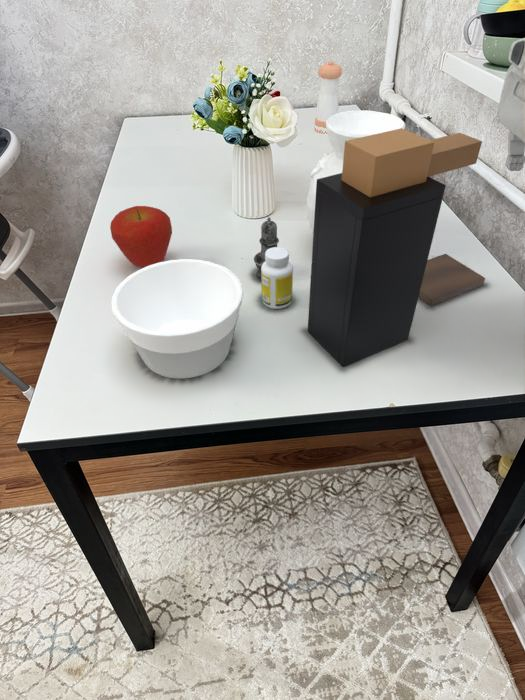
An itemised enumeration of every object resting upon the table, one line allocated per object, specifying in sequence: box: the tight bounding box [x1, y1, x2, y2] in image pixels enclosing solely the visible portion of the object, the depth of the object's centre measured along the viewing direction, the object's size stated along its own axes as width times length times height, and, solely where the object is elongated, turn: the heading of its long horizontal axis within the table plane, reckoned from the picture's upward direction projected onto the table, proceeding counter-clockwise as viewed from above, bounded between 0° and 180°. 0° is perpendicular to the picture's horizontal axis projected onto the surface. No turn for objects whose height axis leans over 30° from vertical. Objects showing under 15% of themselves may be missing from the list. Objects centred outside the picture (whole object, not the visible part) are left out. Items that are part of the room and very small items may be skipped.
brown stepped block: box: [341, 128, 483, 198], centre depth 63 cm, size 6×19×5 cm, turn 119°
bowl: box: [110, 258, 244, 380], centre depth 75 cm, size 19×19×11 cm
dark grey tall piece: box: [253, 216, 280, 282], centre depth 90 cm, size 6×6×12 cm
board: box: [418, 253, 486, 307], centre depth 91 cm, size 10×13×2 cm
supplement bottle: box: [261, 246, 294, 310], centre depth 85 cm, size 5×5×10 cm
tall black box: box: [307, 173, 447, 368], centre depth 72 cm, size 10×13×26 cm
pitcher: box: [306, 109, 406, 234], centre depth 92 cm, size 19×18×25 cm
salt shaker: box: [314, 60, 343, 135], centre depth 148 cm, size 7×7×19 cm
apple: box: [109, 205, 173, 269], centre depth 93 cm, size 11×11×12 cm
